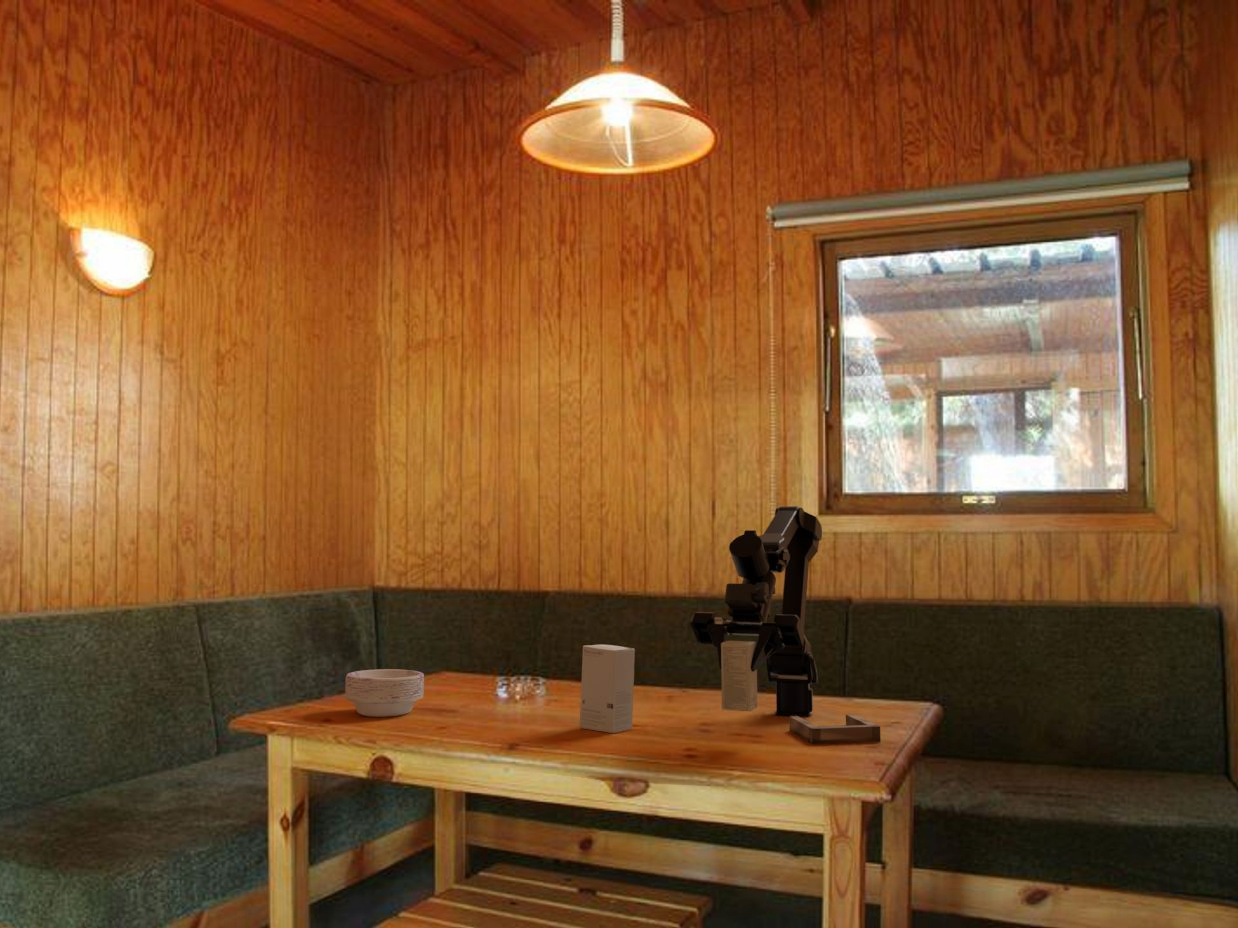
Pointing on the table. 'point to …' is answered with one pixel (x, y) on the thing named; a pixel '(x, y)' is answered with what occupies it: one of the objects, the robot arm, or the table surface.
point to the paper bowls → (384, 691)
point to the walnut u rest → (836, 731)
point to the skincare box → (607, 688)
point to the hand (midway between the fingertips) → (736, 669)
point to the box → (738, 676)
